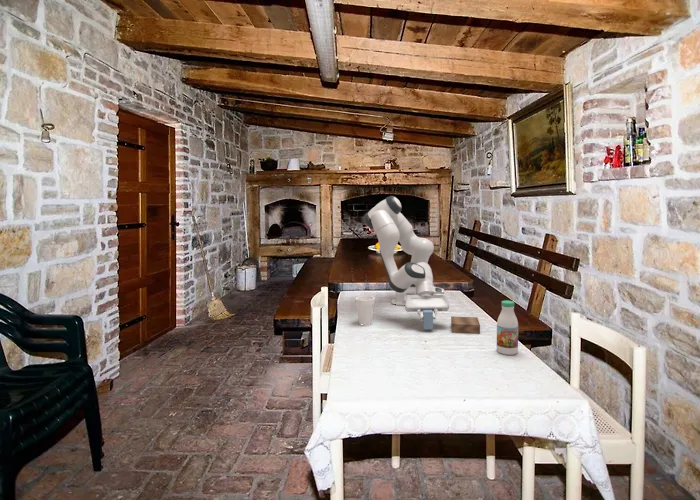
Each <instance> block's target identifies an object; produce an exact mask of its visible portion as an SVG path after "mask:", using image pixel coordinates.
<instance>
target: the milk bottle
mask: <svg viewBox="0 0 700 500" xmlns="http://www.w3.org/2000/svg"><path fill="white" fill-rule="evenodd" d="M496 322H497V323H496V351H497V352H498V353H499V354H501V355H505V356H507V355H508V356H512V355H513V356H514V355H517V354H518V352H519V322H518V318H517V316H516V314H515V302H514V301H513V300H501V310H500V314H499V315H498V318H497V321H496Z"/></svg>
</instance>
